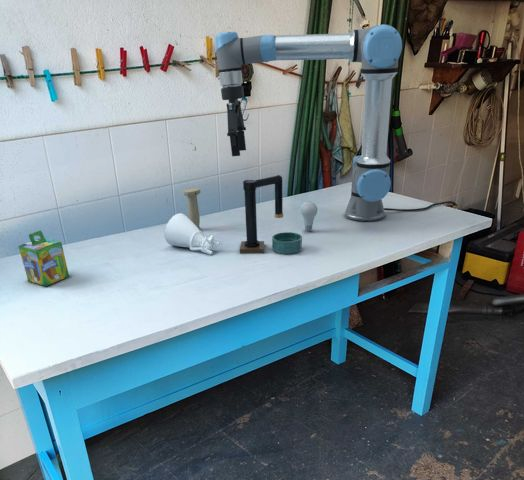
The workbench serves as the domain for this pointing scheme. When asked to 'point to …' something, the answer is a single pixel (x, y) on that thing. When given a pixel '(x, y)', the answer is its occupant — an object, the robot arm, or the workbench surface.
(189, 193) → the handle
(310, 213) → the lightbulb
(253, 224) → the black post
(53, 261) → the chalk box
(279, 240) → the basin
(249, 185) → the spout
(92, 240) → the workbench surface
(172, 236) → the rocket engine
